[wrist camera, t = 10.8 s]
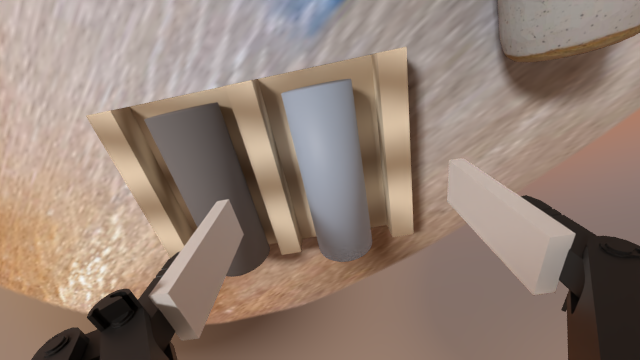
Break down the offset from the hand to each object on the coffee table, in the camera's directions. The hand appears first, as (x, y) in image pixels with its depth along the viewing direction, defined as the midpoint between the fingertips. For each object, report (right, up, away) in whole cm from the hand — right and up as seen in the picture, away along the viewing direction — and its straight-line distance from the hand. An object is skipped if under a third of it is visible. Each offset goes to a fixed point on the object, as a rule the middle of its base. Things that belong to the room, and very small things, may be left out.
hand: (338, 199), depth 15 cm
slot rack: (-5, +2, +8) cm, 10 cm away
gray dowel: (0, +3, +8) cm, 8 cm away
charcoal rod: (-12, 0, +7) cm, 14 cm away
